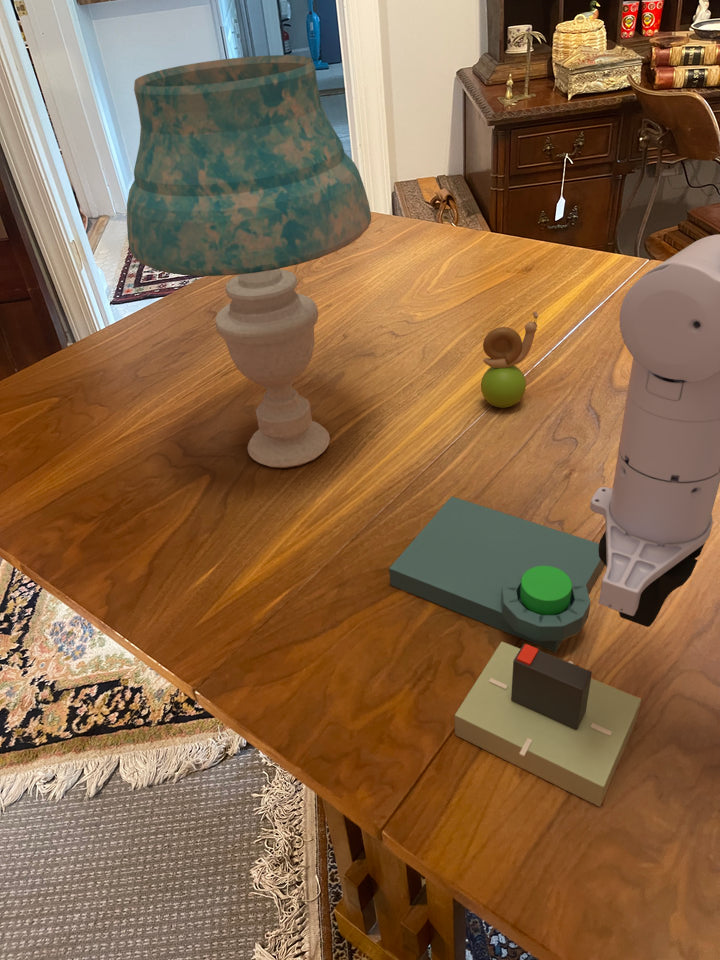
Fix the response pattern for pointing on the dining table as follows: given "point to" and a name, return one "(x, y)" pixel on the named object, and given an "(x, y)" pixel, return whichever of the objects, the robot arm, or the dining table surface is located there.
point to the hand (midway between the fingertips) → (637, 615)
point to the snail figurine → (506, 364)
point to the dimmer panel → (548, 730)
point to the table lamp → (248, 216)
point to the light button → (545, 590)
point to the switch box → (497, 569)
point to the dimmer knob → (550, 686)
